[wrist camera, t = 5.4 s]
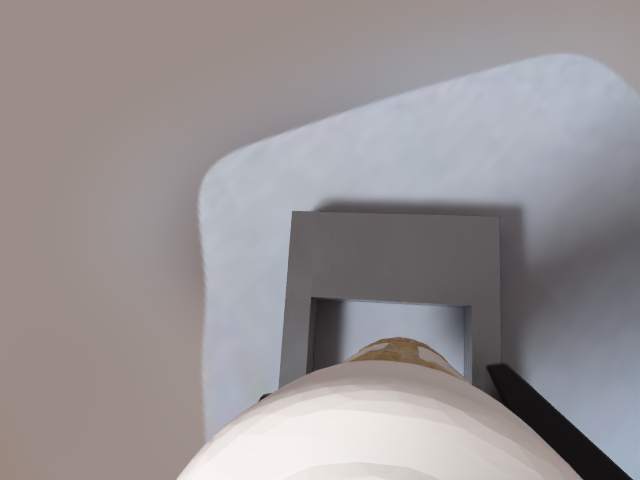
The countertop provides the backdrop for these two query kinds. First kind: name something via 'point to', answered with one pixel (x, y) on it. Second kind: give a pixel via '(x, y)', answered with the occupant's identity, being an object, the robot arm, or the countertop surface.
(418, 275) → the gray rectangular frame
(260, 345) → the countertop surface
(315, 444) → the sprinkles bottle
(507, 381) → the robot arm
